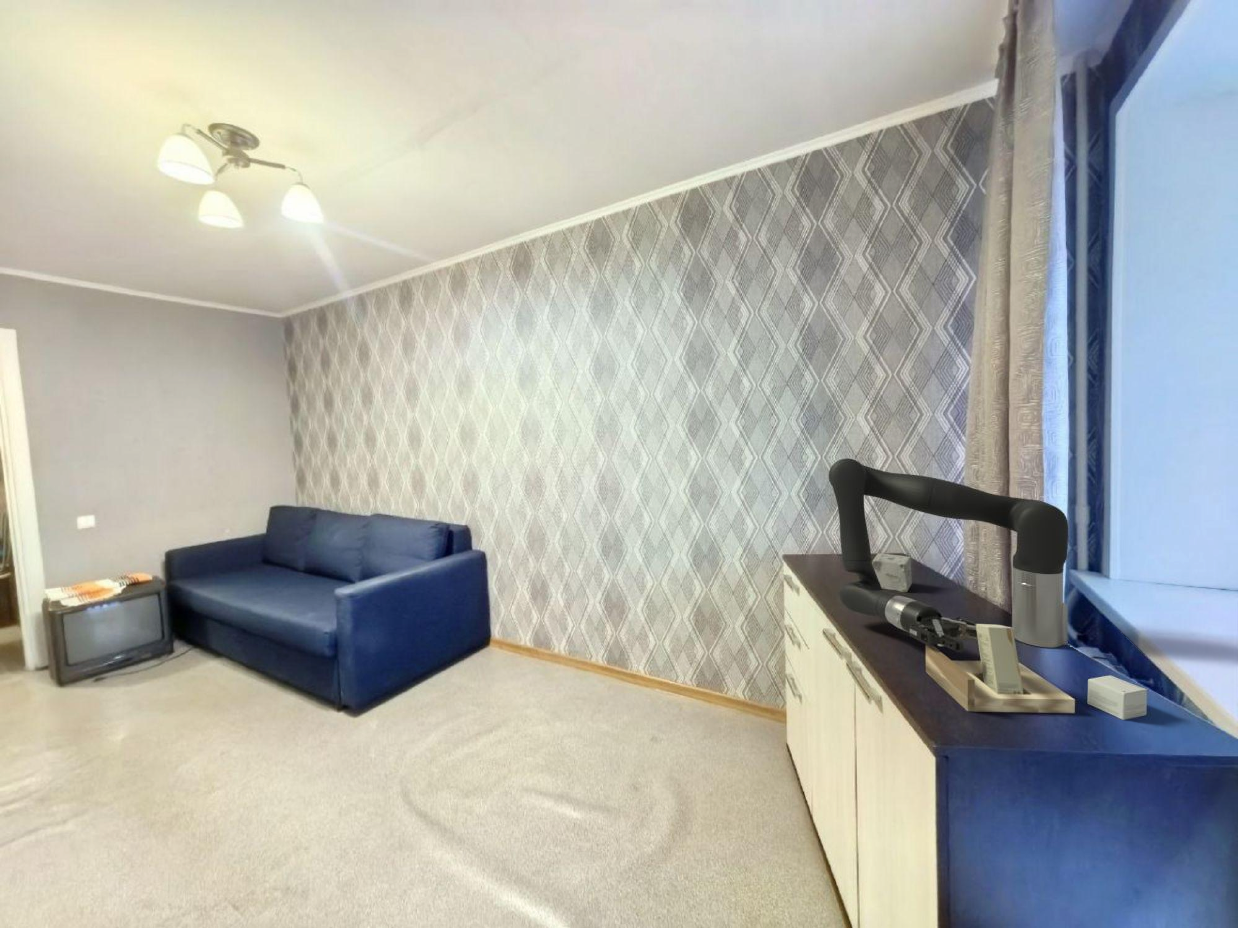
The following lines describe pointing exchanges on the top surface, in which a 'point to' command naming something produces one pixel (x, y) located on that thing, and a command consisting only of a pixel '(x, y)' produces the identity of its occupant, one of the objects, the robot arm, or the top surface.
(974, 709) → the rack
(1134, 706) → the small box
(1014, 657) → the skincare box
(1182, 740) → the top surface
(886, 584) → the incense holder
